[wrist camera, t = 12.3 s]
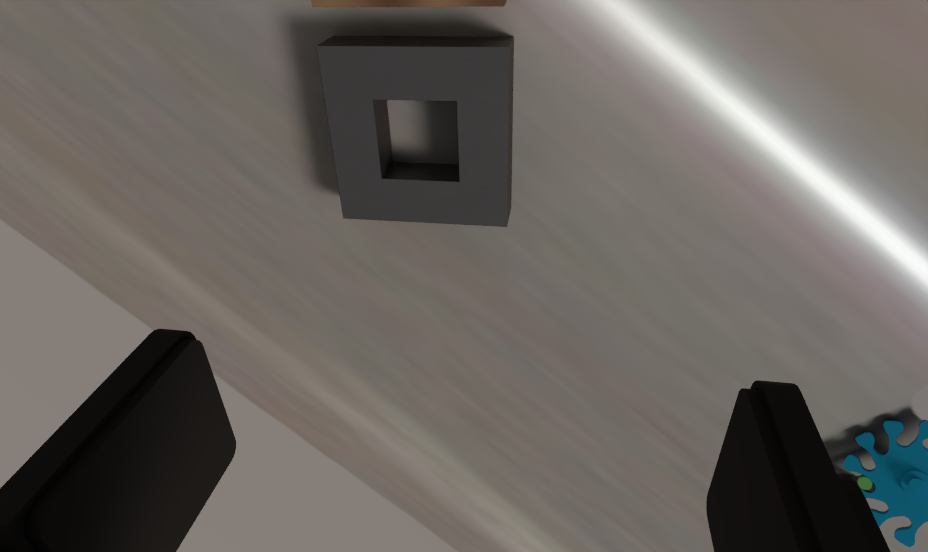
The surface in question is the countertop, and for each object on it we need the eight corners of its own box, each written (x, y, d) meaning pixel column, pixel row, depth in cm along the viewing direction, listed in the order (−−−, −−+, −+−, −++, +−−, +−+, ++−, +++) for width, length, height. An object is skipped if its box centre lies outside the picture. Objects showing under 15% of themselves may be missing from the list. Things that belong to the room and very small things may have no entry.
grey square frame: (513, 36, 37) (509, 47, 35) (511, 207, 44) (506, 226, 41) (333, 36, 39) (316, 45, 37) (356, 200, 46) (343, 218, 43)
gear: (967, 407, 45) (1029, 547, 42) (961, 402, 50) (1017, 527, 47) (809, 435, 51) (855, 559, 48) (817, 427, 56) (859, 540, 53)
